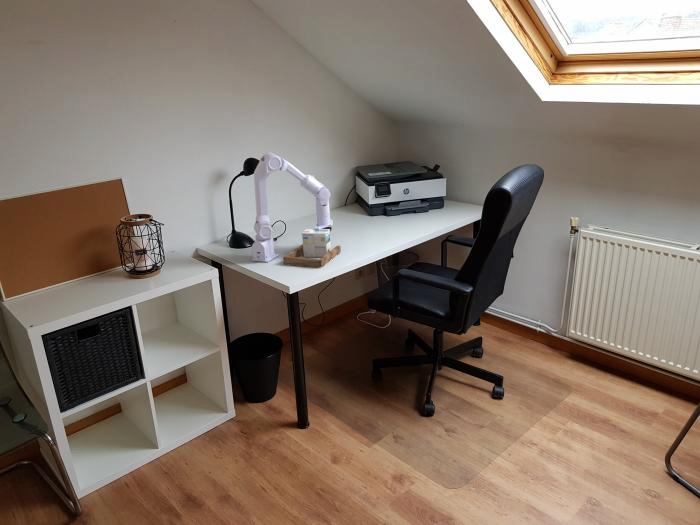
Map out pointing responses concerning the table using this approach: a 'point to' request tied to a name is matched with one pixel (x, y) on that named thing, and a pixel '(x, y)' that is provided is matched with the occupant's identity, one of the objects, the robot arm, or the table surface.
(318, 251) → the light bulb box
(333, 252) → the walnut holder
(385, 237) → the table surface
